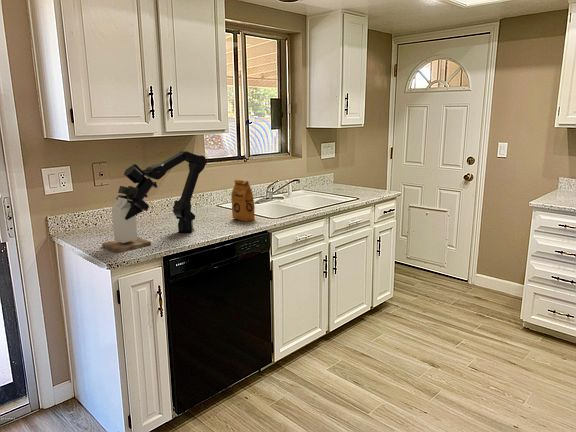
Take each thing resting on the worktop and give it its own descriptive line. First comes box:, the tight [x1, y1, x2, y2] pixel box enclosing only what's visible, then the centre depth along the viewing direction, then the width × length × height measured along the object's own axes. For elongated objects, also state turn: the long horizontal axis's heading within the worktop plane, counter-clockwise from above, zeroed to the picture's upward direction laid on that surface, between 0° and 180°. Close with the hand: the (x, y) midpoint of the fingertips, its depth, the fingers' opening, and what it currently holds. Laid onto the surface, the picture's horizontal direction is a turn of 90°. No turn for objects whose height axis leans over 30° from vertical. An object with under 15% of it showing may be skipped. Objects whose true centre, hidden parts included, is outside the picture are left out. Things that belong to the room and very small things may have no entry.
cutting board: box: [101, 236, 152, 254], centre depth 193 cm, size 16×14×2 cm
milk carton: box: [111, 196, 138, 243], centre depth 191 cm, size 7×7×19 cm
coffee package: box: [230, 179, 255, 223], centre depth 238 cm, size 10×12×22 cm
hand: (121, 218), depth 189 cm, fingers closed on milk carton, 7 cm apart
